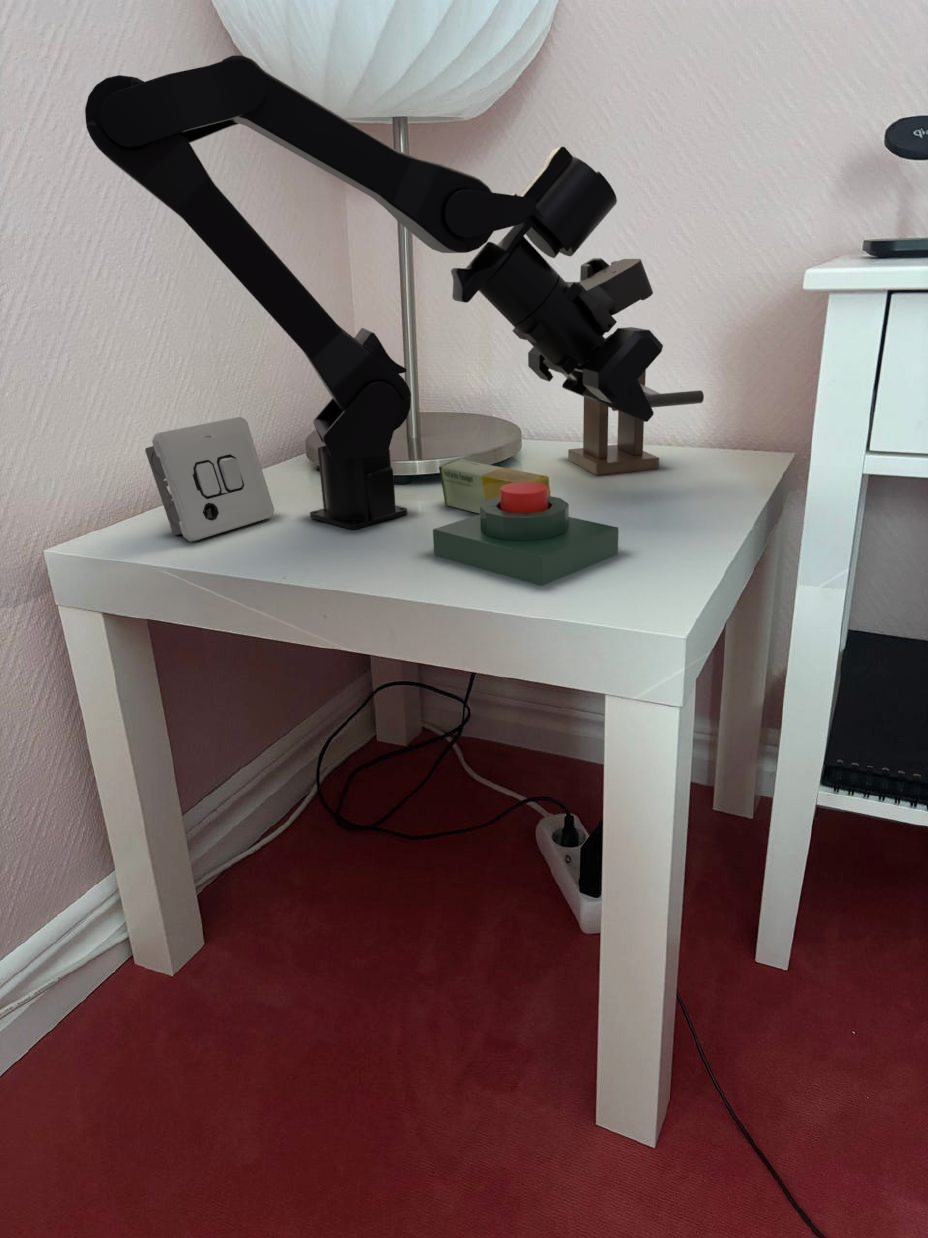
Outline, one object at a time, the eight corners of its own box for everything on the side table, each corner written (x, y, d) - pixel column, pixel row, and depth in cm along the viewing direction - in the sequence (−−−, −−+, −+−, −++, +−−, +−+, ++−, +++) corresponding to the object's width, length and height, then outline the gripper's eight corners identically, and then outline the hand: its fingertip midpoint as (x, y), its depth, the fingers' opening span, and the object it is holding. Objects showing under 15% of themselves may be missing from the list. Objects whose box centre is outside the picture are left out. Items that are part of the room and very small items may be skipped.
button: (490, 511, 68) (490, 488, 68) (522, 501, 71) (521, 479, 70) (526, 519, 66) (526, 496, 65) (558, 508, 68) (558, 486, 68)
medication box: (442, 507, 84) (436, 465, 82) (464, 498, 86) (458, 457, 84) (533, 529, 75) (528, 483, 74) (555, 519, 77) (551, 473, 75)
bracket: (659, 468, 94) (663, 362, 90) (596, 475, 93) (598, 366, 89) (626, 454, 102) (629, 354, 97) (568, 460, 100) (568, 358, 96)
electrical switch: (191, 545, 76) (166, 433, 73) (156, 541, 79) (132, 434, 76) (277, 518, 82) (258, 415, 80) (242, 516, 86) (223, 416, 83)
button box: (433, 556, 71) (430, 506, 69) (511, 529, 76) (510, 482, 75) (541, 586, 63) (541, 531, 62) (618, 554, 69) (619, 503, 68)
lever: (702, 410, 86) (705, 385, 85) (615, 418, 84) (616, 392, 83) (647, 383, 97) (649, 360, 95) (568, 390, 94) (569, 366, 93)
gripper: (644, 221, 69) (760, 359, 76) (557, 228, 86) (659, 341, 93) (548, 334, 71) (670, 461, 77) (481, 320, 87) (586, 425, 94)
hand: (646, 416), depth 85 cm, fingers closed on lever
